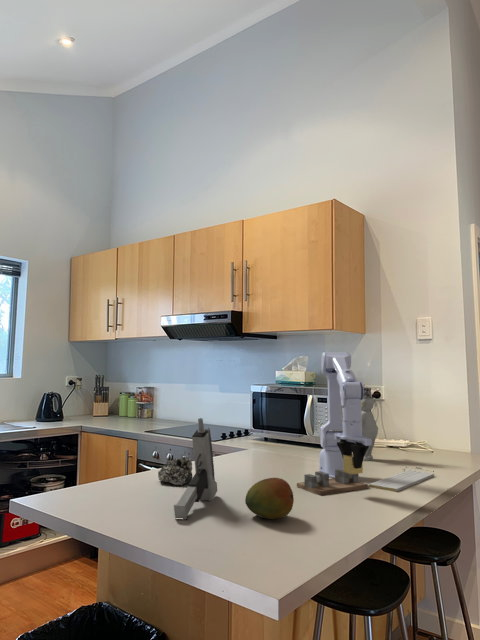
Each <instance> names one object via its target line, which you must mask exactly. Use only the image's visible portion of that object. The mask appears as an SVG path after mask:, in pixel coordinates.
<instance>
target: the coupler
mask: <svg viewBox="0 0 480 640" xmlns="http://www.w3.org/2000/svg"><path fill="white" fill-rule="evenodd" d="M343 470H344V472H346V473H350V474H358V475H359V474H363V472H364V470H363V464H362V467H361V468H358V469H356V468H355V466H354V457H353V453H352V454H348V455H343Z"/></svg>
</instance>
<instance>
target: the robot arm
mask: <svg viewBox="0 0 480 640" xmlns="http://www.w3.org/2000/svg"><path fill="white" fill-rule="evenodd" d="M320 363H321V364H320V365H321V367H320V368H321V374H322V375H323V376H325V377H326V380H327V409H328V410H327V412H328V413H327V417H328V420H327V422H326V423H324V424H323V425H322V426H321V428H320V436H319V438H320V439H319V440H320V441H319V442H320V446H321V448H322V449H321V451H320V452H319V454H318V457H319V459H318V460H319V461H318V463H319V464H318V465H319V466H318V467H319V470H318V471H321V472H325V473H328V474H329V478H335V469H342V470H343V455H348V454H353V457H354V466H355V468H356V469H358V468H361V467H362V465H363V462H364V461H363V459H364V456H365V453H366V451H367V449H368V448H369V446H370V445H372V439H370V438H367V437H364V436H362V412H361V411H362V410H361V400H363V396H364V389H363V388H364V384H363V382H362V381H360V380H357V378H356V375H355V373H354V371H352V370H351V368H352V367H351V366H352V356H351V354H350V353H349V352H348V351H346V352H337V351H336V352H332V351H331V352H329V351H328V352H325V351H323V352H322V354H321V360H320Z"/></svg>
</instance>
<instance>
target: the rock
mask: <svg viewBox="0 0 480 640" xmlns="http://www.w3.org/2000/svg"><path fill="white" fill-rule="evenodd" d="M192 471H193V462H192V459H191V457H189V456H187V457H185V456H181V457H180V458H177V457H176V458H174V459H171V460H167V461H165V462H164V465H163V466H162V467H161V468H160V470H158V480H159V481H160V482H164V483H170V484H172V485H175V486H179V485H181V486H184V485H186V484H189V483H190V481H191V480H192V478H193V476H194V475H193V472H192Z"/></svg>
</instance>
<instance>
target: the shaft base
mask: <svg viewBox="0 0 480 640" xmlns="http://www.w3.org/2000/svg"><path fill="white" fill-rule="evenodd" d="M303 478H304V479H303V480H304V481H302V482H297V483H296V487H297V488H298V489H301V490H305V491H307V492H310V493H312V494H315V495H318V496H325V495H326V496H327V495H332V494H338V493H345V492H346V493H347V492H350V491H351V492H352V491H357V490H358V491H359V490H360V491H361V490H365V489H369V487H368V484H369V483H368V484H367V483H364V482H360V481H359V474H350V473H346V472H344V470H342V469H335V478H333V477H331V478H330V477H329V474H328V473H325V472H321V471H319V470H317V471H315V472H314V474H311V473H307V474H304V477H303Z"/></svg>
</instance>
